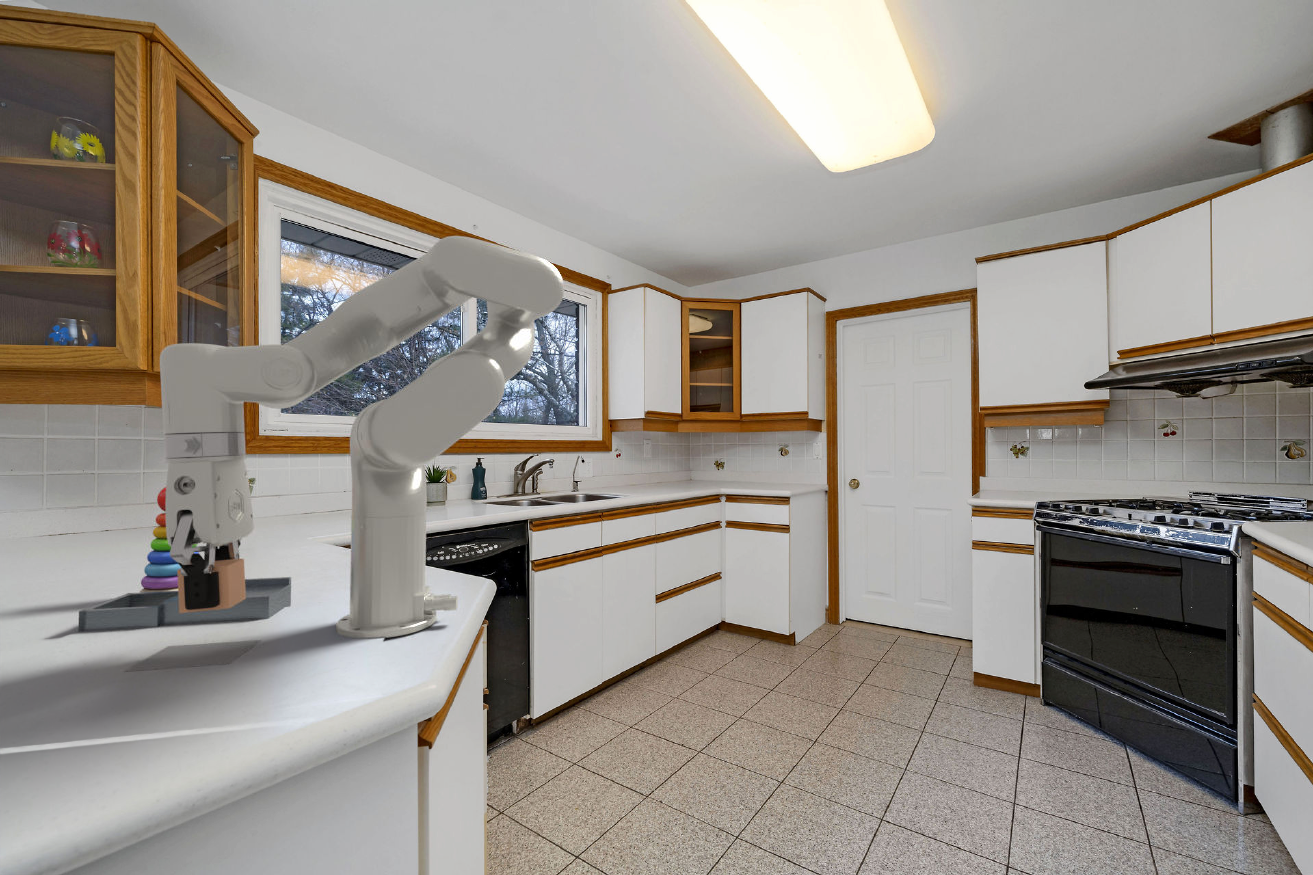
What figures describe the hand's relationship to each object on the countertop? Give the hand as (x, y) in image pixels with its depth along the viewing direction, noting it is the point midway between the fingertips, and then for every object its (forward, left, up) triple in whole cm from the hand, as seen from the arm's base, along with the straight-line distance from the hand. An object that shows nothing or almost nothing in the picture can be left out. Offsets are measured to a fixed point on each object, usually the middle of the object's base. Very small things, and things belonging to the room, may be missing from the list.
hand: (213, 600), depth 66 cm
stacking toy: (+20, -31, -7) cm, 38 cm away
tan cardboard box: (0, 0, -1) cm, 1 cm away
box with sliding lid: (+10, -17, -6) cm, 21 cm away
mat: (+1, +1, -6) cm, 7 cm away
